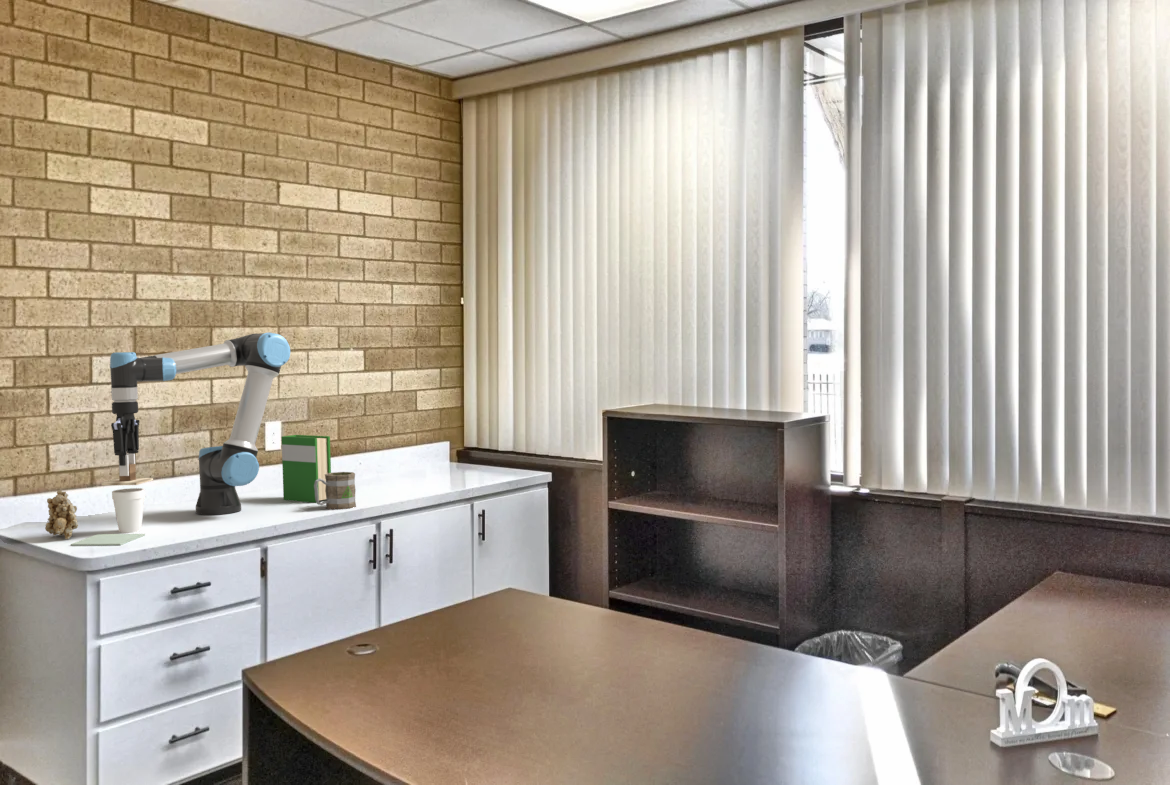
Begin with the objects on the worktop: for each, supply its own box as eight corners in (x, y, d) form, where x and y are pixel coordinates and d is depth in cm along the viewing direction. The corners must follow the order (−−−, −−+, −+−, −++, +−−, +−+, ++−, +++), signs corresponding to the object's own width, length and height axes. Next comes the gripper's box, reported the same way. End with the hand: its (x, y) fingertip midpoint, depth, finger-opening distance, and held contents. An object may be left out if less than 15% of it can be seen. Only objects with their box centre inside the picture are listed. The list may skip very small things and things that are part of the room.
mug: (345, 503, 360) (344, 471, 359) (362, 506, 353) (361, 473, 352) (307, 509, 349) (306, 475, 348) (323, 512, 341) (322, 478, 341)
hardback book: (331, 500, 369) (329, 436, 368) (317, 503, 363) (315, 438, 361) (298, 497, 378) (296, 434, 377) (283, 499, 372) (281, 436, 370)
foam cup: (133, 534, 307) (131, 492, 307) (107, 533, 309) (105, 492, 308) (152, 528, 317) (151, 488, 316) (127, 527, 318) (125, 488, 318)
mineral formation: (68, 533, 311) (66, 486, 310) (87, 538, 302) (85, 489, 302) (41, 537, 305) (39, 489, 304) (59, 542, 296) (57, 493, 295)
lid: (153, 480, 317) (152, 462, 317) (136, 485, 306) (135, 466, 306) (119, 480, 318) (119, 462, 317) (101, 485, 307) (100, 466, 306)
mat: (145, 535, 305) (145, 533, 305) (120, 545, 290) (120, 543, 290) (97, 535, 306) (97, 534, 306) (70, 545, 291) (70, 544, 291)
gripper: (126, 399, 319) (129, 471, 320) (99, 402, 303) (102, 478, 304) (149, 399, 319) (151, 471, 320) (123, 402, 302) (126, 478, 303)
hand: (127, 474), depth 312 cm, fingers closed on lid, 3 cm apart
